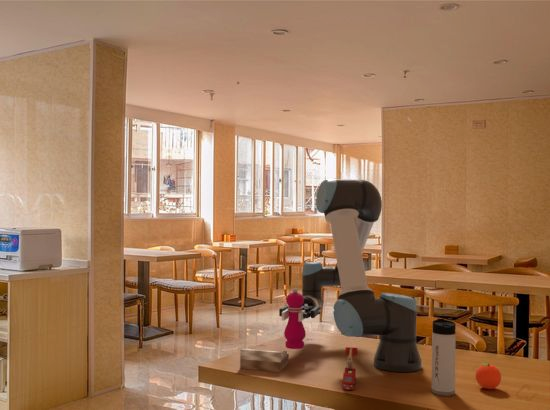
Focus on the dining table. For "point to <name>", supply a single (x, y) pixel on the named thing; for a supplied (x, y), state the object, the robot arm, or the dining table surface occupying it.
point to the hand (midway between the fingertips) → (291, 316)
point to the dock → (263, 360)
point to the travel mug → (443, 357)
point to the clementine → (488, 376)
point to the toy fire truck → (349, 378)
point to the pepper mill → (294, 321)
